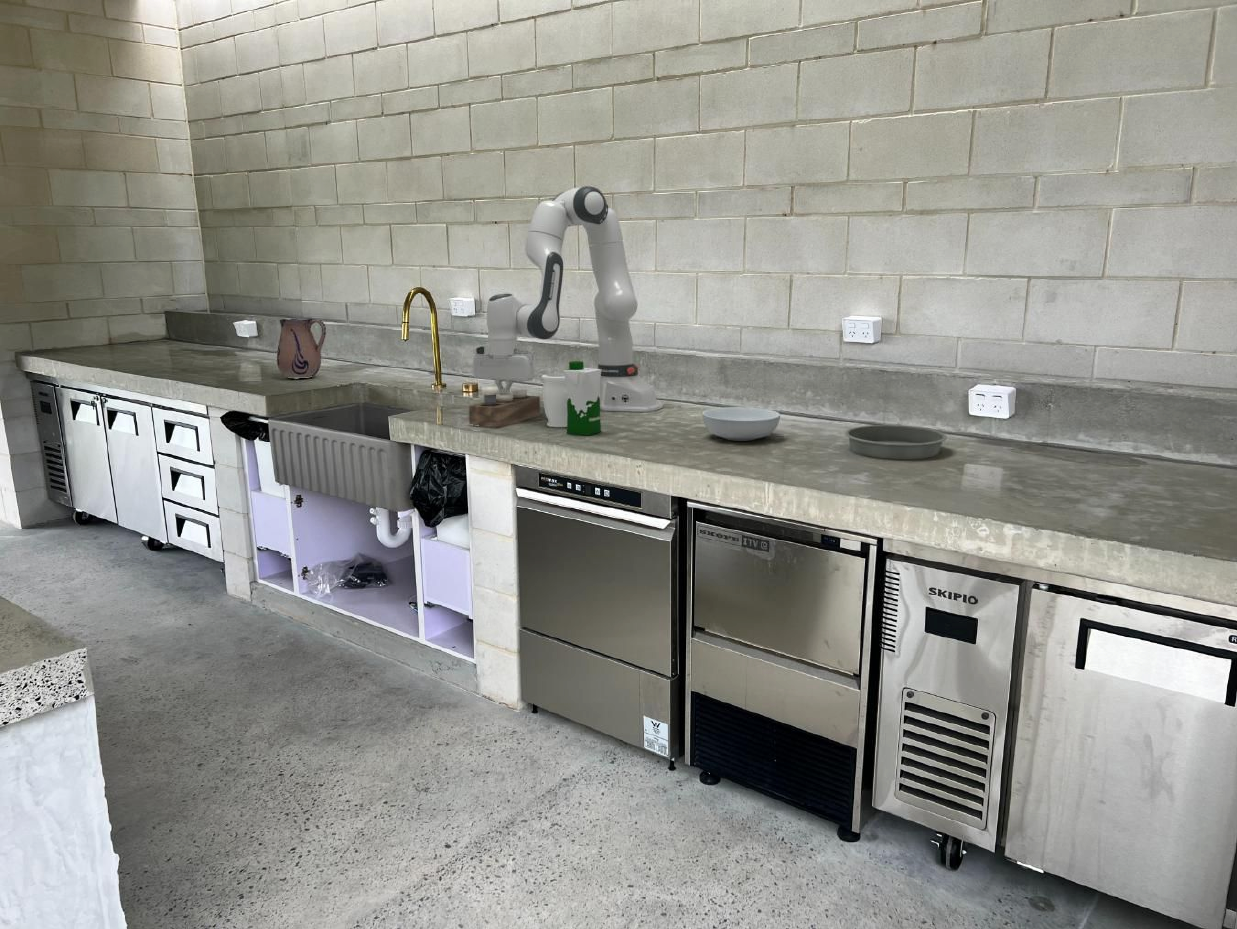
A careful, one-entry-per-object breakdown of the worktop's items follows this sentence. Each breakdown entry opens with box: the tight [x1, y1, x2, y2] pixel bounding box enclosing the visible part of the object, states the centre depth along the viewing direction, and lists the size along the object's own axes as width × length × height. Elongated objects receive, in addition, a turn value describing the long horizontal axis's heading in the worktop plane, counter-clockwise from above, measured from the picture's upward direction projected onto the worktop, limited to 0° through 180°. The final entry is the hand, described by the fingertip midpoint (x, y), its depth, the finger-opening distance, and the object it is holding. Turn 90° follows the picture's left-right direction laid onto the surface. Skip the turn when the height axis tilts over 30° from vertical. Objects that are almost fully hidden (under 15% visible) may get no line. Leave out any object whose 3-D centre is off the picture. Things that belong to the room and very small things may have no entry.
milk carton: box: [563, 360, 602, 437], centre depth 261 cm, size 9×9×20 cm
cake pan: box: [844, 424, 948, 460], centre depth 234 cm, size 25×25×4 cm
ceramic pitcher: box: [276, 317, 327, 378], centre depth 390 cm, size 18×21×25 cm
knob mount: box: [468, 395, 541, 429], centre depth 284 cm, size 10×24×6 cm, turn 154°
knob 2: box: [510, 388, 528, 399], centre depth 290 cm, size 5×5×6 cm
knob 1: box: [481, 385, 499, 407], centre depth 276 cm, size 5×5×6 cm
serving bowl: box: [701, 406, 781, 442], centre depth 252 cm, size 21×21×7 cm
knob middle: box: [496, 392, 513, 403], centre depth 283 cm, size 5×5×6 cm
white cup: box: [541, 372, 567, 428], centre depth 273 cm, size 11×10×15 cm
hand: (504, 394), depth 283 cm, fingers closed, pressing on knob middle
